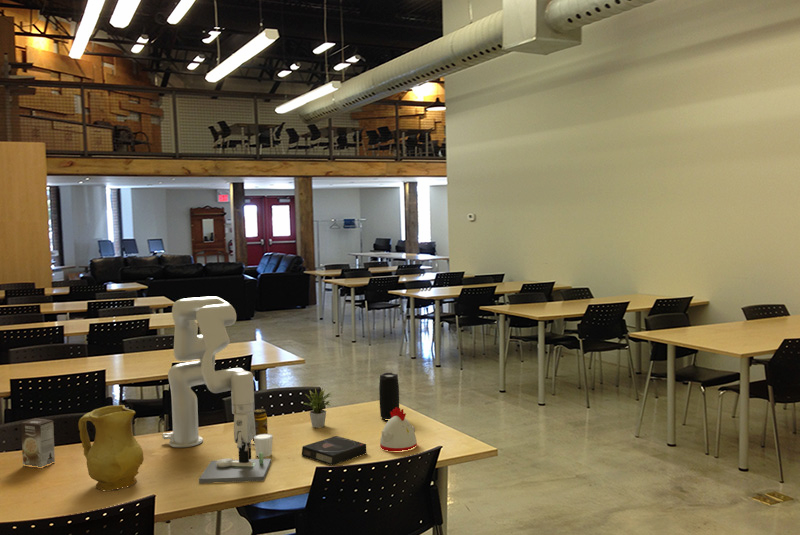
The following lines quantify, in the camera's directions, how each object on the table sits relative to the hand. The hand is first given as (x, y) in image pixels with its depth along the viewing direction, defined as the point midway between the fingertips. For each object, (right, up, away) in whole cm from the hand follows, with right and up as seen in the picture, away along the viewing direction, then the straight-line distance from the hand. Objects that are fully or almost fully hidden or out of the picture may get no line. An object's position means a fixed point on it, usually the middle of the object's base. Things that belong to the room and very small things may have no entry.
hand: (245, 460), depth 232 cm
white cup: (+3, -3, +17) cm, 17 cm away
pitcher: (-41, -5, -9) cm, 42 cm away
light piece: (-4, -2, +1) cm, 4 cm away
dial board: (-3, -4, -1) cm, 5 cm away
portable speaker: (+49, 0, +62) cm, 79 cm away
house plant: (+19, -1, +52) cm, 55 cm away
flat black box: (+29, -3, +15) cm, 33 cm away
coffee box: (-77, -5, +11) cm, 78 cm away
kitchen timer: (+53, -2, +23) cm, 58 cm away
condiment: (-3, -2, +35) cm, 35 cm away
